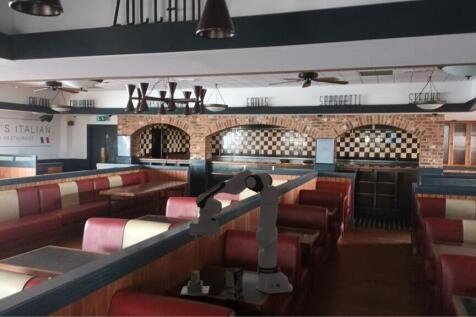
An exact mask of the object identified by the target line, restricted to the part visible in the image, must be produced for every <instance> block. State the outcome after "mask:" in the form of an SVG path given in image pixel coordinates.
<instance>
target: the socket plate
mask: <svg viewBox="0 0 476 317" xmlns="http://www.w3.org/2000/svg"><path fill="white" fill-rule="evenodd" d="M209 291H210V285H207V286H206V285H204V280H200V285H191V280H188V283H187V285H185V286H182V289H181V292H180V296H181V295H190V296H189V297H200V296H201V297H202V296H204V297H205V296H206V297H207V296H209Z"/></svg>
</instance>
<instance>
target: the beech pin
mask: <svg viewBox="0 0 476 317" xmlns="http://www.w3.org/2000/svg"><path fill="white" fill-rule="evenodd" d="M190 281H191V285H200V281H201V280H200V270H191V272H190Z"/></svg>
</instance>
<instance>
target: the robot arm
mask: <svg viewBox="0 0 476 317" xmlns="http://www.w3.org/2000/svg"><path fill="white" fill-rule="evenodd" d="M273 183H274V182H273V178H272V176H271V175H270V174H268V173H266V172H255V173H253V172H252V171H251V170H250V169H247V168H244V169H242V170H240V171H239V172H238V173H236V174H235V175H233V176H232V177H231V178H230V179H227V180H224V181H220V182H218V183H217V184H215V185H214V186H212V187H211V188H208V190H206V191H204V192H202V193H200V194H199V195H198V196H197V197H196V199H195V204H196V206H197V208H198V215H199V216H198V221H192V222H190V223H188V224H189V225H188V226H189V231H188V233H189V235H190V236H194V238H195V241H199V237H198V236H206V235H207V236H208V235H209V236H210V239H209V240H210V241H213V240H214V237H215V235H219V234H221V228H220V223H219V220H218V218H215V217H214V216H216V215H218V214H220V213H221V212H222V208H223V202H221V201H220V200H218V199H216V198H215V197H216V196H217V195H218V194H227V195H228V194H229V195H233V196H235V195H236V196H237V195H239V194H242V193H243V192H244V191H245V190H246V189H248V190H250V191H252V192H254V193H256V194H260V204H259V205H260V206H259V215H258V221H257V226H256V232H255V242H256V243H257V244H258V245H259V246H258V247H259V249H258V254H257V258H258V259H257V260H258V261H257V262H258V265H257V282H256V286H255V289H256V290H258V291H260V292H262V293H265V294H277V293H279V294H280V293H290V292H292V291H293V285H292V284H291V283H290V282H289V278H288V276H286V275H285V274H284V273H283V272H281V271H282V269H281V267H280V266H279V264H277V249H278V238H279V237H278V236H279V234H278V232H279V230H278V227H277V221H278V220H277V219H278V213H279V198H280V197H279V189H278V188H277V187H276V186H275V185H273Z"/></svg>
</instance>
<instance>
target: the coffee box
mask: <svg viewBox="0 0 476 317" xmlns="http://www.w3.org/2000/svg"><path fill="white" fill-rule="evenodd" d="M225 273H226V274H225V277H226V278H225V283H226V284H225V289H226V291H225V292H226V293H225V294H226V295H225V298H226V299H228V300H232V299H233V301H237V299H239V298H241V297H243V296H244V281H243V280H244V274H243V273H244V268H242V267H231V268H230V269H228V270H226V272H225Z"/></svg>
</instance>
